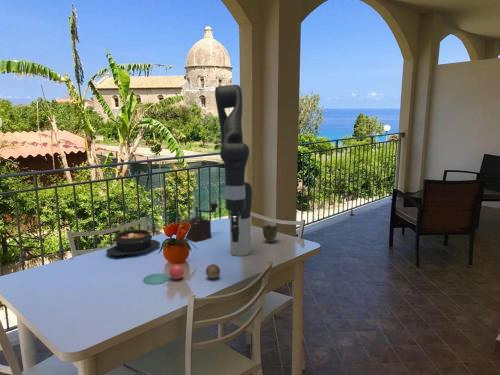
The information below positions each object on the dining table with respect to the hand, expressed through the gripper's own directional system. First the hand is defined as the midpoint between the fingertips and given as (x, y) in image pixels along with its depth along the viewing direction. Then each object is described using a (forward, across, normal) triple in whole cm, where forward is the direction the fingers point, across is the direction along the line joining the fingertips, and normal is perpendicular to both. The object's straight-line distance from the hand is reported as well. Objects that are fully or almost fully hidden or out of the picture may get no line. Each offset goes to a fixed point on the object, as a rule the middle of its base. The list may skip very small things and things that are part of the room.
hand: (235, 238), depth 147 cm
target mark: (+16, +1, -31) cm, 35 cm away
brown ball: (+14, 0, -9) cm, 16 cm away
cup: (+16, -44, +15) cm, 50 cm away
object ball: (+13, 0, -23) cm, 27 cm away
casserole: (+16, -31, -50) cm, 61 cm away
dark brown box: (+16, -53, -21) cm, 59 cm away
